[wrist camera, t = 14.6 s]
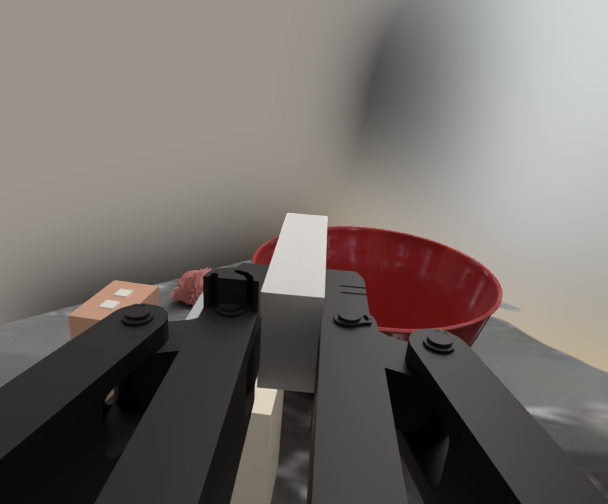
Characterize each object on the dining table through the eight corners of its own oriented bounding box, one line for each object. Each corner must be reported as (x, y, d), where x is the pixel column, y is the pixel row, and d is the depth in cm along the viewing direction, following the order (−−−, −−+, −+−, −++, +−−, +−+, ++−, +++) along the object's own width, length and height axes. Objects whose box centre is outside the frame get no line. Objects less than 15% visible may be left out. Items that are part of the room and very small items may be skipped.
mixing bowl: (421, 511, 40) (456, 366, 34) (198, 379, 55) (197, 262, 49) (497, 367, 62) (525, 264, 56) (323, 300, 77) (333, 213, 71)
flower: (226, 277, 68) (205, 250, 70) (181, 307, 65) (159, 278, 66) (225, 295, 75) (206, 270, 77) (184, 323, 72) (165, 296, 74)
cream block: (227, 457, 44) (230, 342, 39) (278, 465, 43) (287, 349, 39) (201, 534, 36) (201, 403, 32) (262, 544, 36) (271, 412, 31)
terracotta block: (122, 379, 54) (114, 278, 49) (162, 385, 53) (158, 284, 48) (82, 426, 46) (68, 313, 41) (128, 434, 46) (119, 321, 41)
